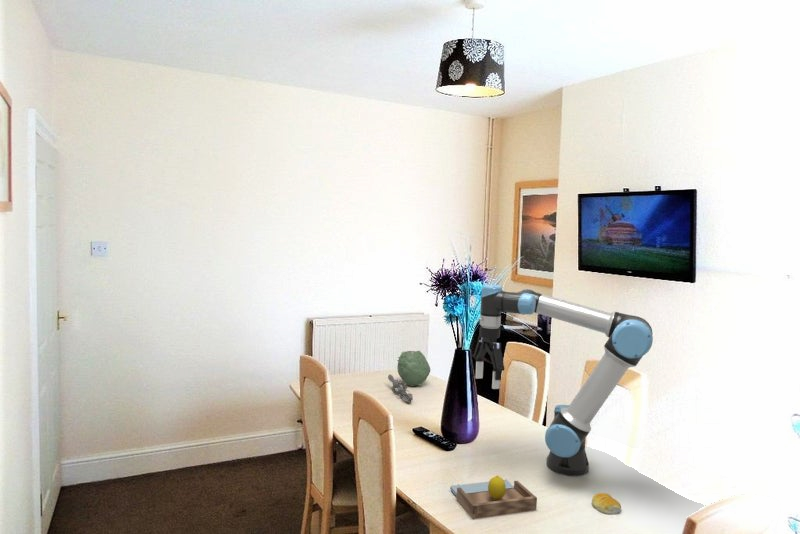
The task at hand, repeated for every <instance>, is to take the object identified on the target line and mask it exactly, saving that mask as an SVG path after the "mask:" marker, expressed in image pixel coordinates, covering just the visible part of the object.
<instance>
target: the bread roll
mask: <svg viewBox="0 0 800 534" xmlns="http://www.w3.org/2000/svg"><path fill="white" fill-rule="evenodd" d="M591 505H592V507H593V508H594V509H596V510H597V511H598V512H600V513H603V514H605V515H616V514H619V513H621V510H622V504H621V503H620V502H619V501H618V500H617V499H615V498H614V497H613V496H611V495H610V494H608V493H606V492H598V493H596V494H594V495H593V496H592V499H591Z"/></svg>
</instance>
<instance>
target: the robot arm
mask: <svg viewBox="0 0 800 534" xmlns="http://www.w3.org/2000/svg"><path fill="white" fill-rule="evenodd" d="M503 290H504V289H503V286H502V285H497V284H484V285H483V286H482V288H481V293H480V294H481V295H480V312H479V313H480V318H479V325H480V327H479V331H478V332H479V334H478V335H479V336H478V337H477V343H476V345H475V350H474V353H473V359H474V360H475V380H476V379H483V377H484V357H485V356H486V354H487V353H488V355H489V356H490V361H491V363H492V368H493V369H492V381H491V382H492V383H491V389H493V390H499V389H500V388H501V387H500V386H501V372H502V371H505V363H504V358H503V357H504V356H503V353H502V343H501V342H497V339H500V337H501V328H500V327H501V322H502V321H501V319H502V313H510V314H517V315H521V316H524V315H529V316H530V315H534V313H535V314H539V315H542V316H546V317H549V318H552V319H555V320H558V321H562V322H564V323H569V324H573V325H576V326H578V327H581V328H586V329H589V330H592V331H594V332H595V331H596V332H599V333H602V334H605V337H607V338H608V339H607V340H606V342H605V344H604V345H603V348H604V353H603V355H602V356H601V359H600V360H599V361H598V363H597V364H596V365H595V367H594V368H593V370H592V372H591V373H590V375H589V376H588V377H587V379H586V380H585V382H584V383H583V385H582V386H581V388H580V389H579V390H578V392H577V394H575V396H574V398H573V399H572V401H571V402H570V404H568V405H567V404H558V405H555V406H554V410H553V413H554V414H553V415H554V417H553V420H552V422H551V423H550V425H549V427H548V428H546V431H545V435H544V438H545V439H544V441H545V445H546V447H547V449H549V453H548V455H547V456H546V466H547V468H548V469H550V470H551V471H553V472H554V473H557V474H561V475H565V476H568V477H569V476H570V477H578V476H579V477H580V476H584V475H587V474H588V473H589V470H590V463H589V461H588V456H587V452H586V439H587V436H588V435H589V433H590V432H591V431H592V427H591V423H592V421H593V419H594V418H595V417H596V415H597V413H599V411H600V409H601V408H602V407H603V406H604V403H605V402H606V401H607V399H608V398H609V396H610V395H611V393H612V392H613V391H614V389H616V387H617V385H618V383H619V382H620V381H621V379H622V378H623V376H624V375H625V374H626V373H627V370H628V369H629V368H634V367H635V368H636V367H637V365H638V364H639V362H640V361H641V360H642V358H643V357H644V356H645V355H646V354H647V353H648V352H649V351H650V350H651V349H652V345H653V338H654V336H653V335H654V334H653V329H652V325H650V323H649V322H648V321H647V320H646V319H644V318H642V317H640V316H637V315H632V314H626V313H622V312H618V311H613V312H607V311H604V310H600V309H597V308H593V307H590V306H586V305H583V304H579V303H575V302H572V301H568V300H564V299H562V298H561V299H560V298H557V297H554V296H550V295H548V294H547V295H546V294H543V293H540V292H536V290H533V289H528V288H527V289H526V288H525V289H522V290H520V291H518V292H513V291H512V292H511V291H503Z"/></svg>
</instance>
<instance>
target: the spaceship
mask: <svg viewBox="0 0 800 534" xmlns="http://www.w3.org/2000/svg"><path fill="white" fill-rule="evenodd" d="M387 378H388V380H389V382H392V386H391V387H392V388H391V389H392V390H391V391H392V393H393V394H394V395H396V396H399V399H400V400H403V401H406V402H407V403H412V401H413V399H414V397H413V393H411V392H410V391H409V390H408V387H407V384H406V383H405V382H404V381H403V380H399V379H395V377H394V376H393V375H392V374H388V376H387ZM407 392H408V393H407Z"/></svg>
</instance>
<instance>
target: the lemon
mask: <svg viewBox="0 0 800 534" xmlns="http://www.w3.org/2000/svg"><path fill="white" fill-rule="evenodd" d="M504 480H505V479H503V478H502V477H501V476H499V475H495V476H493V477H491V478H490V480H489V481H488V482H489V484H488V491H489V494H490V496H491V497H492V498H494V499H495V500H498V499H501V498H502V497H503V496H504V495H505V491H506V485H505V482H504Z"/></svg>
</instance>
